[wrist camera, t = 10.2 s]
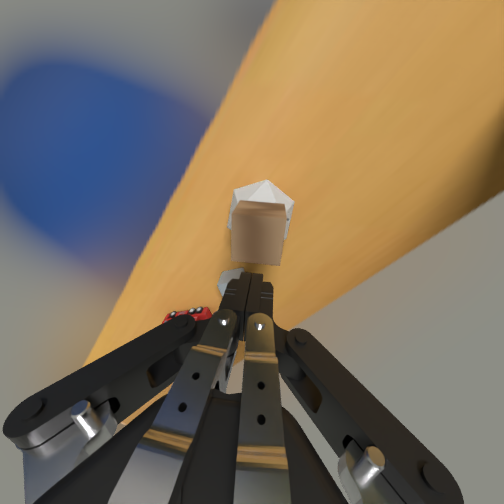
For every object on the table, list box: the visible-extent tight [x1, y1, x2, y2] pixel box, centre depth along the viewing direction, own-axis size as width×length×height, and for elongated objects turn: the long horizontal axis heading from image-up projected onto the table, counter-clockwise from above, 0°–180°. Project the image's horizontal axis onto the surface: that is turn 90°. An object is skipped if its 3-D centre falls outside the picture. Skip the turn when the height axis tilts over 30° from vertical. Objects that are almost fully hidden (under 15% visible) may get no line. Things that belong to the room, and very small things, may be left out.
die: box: [227, 180, 294, 239], centre depth 27 cm, size 8×9×10 cm
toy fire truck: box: [162, 307, 212, 324], centre depth 39 cm, size 3×14×10 cm, turn 107°
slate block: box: [217, 268, 245, 297], centre depth 36 cm, size 4×4×4 cm
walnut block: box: [231, 200, 287, 266], centre depth 22 cm, size 5×5×5 cm
